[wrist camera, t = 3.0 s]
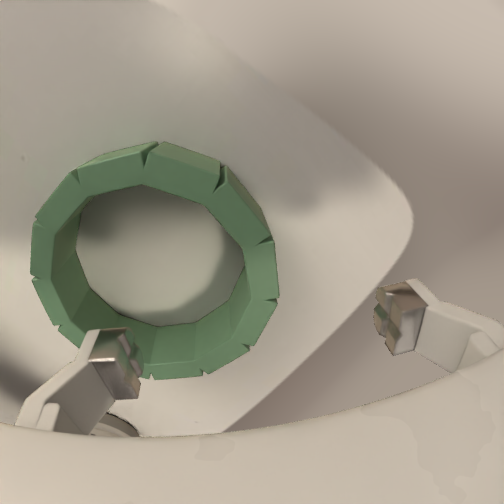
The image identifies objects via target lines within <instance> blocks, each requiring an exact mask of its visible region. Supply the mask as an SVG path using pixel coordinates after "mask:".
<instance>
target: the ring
mask: <svg viewBox="0 0 504 504" xmlns="http://www.w3.org/2000/svg"><path fill="white" fill-rule="evenodd" d="M139 185H146V186H149V187H152V188H155V189H158V190H161V191H164V192H167V193H170V194H173V195H176V196H179V197H181V198H184V199H187V200H190V201H193V202H196V203H199V204H202V205H204V206H205V207H206V208H207V209H208V210H209V212H210V213H211V214H212V215H213V216H214V217H215V218H216V220H217V221H218V222H219V223H220V224H221V225H222V226H223V228H224V229H225V230H226V231H227V232H228V233H229V234H230V235H231V237H232V238H233V239H234V240H235V241H236V242H237V243H238V245H239V246H240V247H241V248H242V250H243V256H244V263H245V266H244V268H243V270H242V273H241V275H240V277H239V279H238V281H237V283H236V286H235V288H234V290H233V292H232V294H231V296H230V299H229V301H227V302H226V303H224V304H223V305H221V306H220V307H218V308H217V309H215V310H214V311H212V312H211V313H209V314H208V315H206V316H205V317H203V318H202V319H200V320H199V321H197V322H195V323H188V324H180V325H171V326H163V327H156V326H153V325H150V324H146V323H143V322H140V321H137V320H134V319H131V318H128V317H125V316H122V315H119V314H118V313H117V312H115V311H114V310H113V309H112V308H111V307H110V306H109V305H108V304H107V303H105V302H104V301H103V300H102V299H101V298H100V297H99V296H98V295H97V294H96V293H95V292H93V291H92V290H91V289H90V287H89V285H88V283H87V280H86V278H85V275H84V272H83V270H82V267H81V265H80V262H79V259H78V257H77V254H76V251H75V248H76V241H77V235H78V229H79V223H80V217H81V212H82V210H83V209H84V208H85V206H86V205H87V204H88V203H89V202H90V201H91V200H92V199H93V198H94V197H95V196H96V195H100V194H104V193H108V192H112V191H116V190H121V189H125V188H130V187H134V186H139ZM35 217H36V218H37V220H36V221H35V222H34V223H33V229H32V242H31V262H30V274H31V275H33V276H35V277H34V278H33V279H32V283H33V285H34V287H35V289H36V291H37V294H38V296H39V298H40V300H41V302H42V304H43V306H44V308H45V310H46V312H47V314H48V316H49V318H50V320H51V322H52V324H53V325H54V326H55V325H60V326H59V328H58V331H59V332H60V333H61V334H62V335H64V336H65V337H66V338H67V339H68V340H70V341H71V342H72V343H73V344H74V345H76V346H77V347H78V348H79V349H80V347H81V344H82V342H83V340H84V338H85V335H86V333H87V331H89V330H94V329H107V328H121V327H129V328H131V329H132V331H133V333H134V335H135V338H134V343H135V344H137V345H138V346H139V347H140V349H141V351H142V355H143V359H144V369H143V374H142V375H141V376H140V377H142V378H145V379H149V378H150V374H152V376H153V378H154V380H163V379H176V378H187V377H197V376H203V371H204V372H206V373H207V374H210V373H212V372H214V371H216V370H217V369H219V368H221V367H223V366H224V365H226V364H228V363H230V362H231V361H233V360H235V359H237V358H238V357H240V356H242V355H243V354H245V353H247V352H248V351H250V348H249V345H250V346H254V345H255V343H256V342H257V340H258V338H259V336H260V335H261V333H262V331H263V329H264V328H265V326H266V324H267V322H268V321H269V319H270V317H271V315H272V314H273V312H274V310H275V308H276V306H277V304H278V303H277V299H276V298H279V296H280V295H279V284H278V273H277V263H276V253H275V243H274V240H273V237H272V235H271V232H270V230H269V227H268V225H267V222H266V220H265V217H264V215H263V212H262V210H261V208H260V206H259V205H258V204H257V203H256V202H255V200H254V199H253V198H252V197H251V195H250V194H249V193H248V192H247V190H246V189H245V188H244V187H243V185H242V184H241V183H240V182H239V180H238V179H237V178H236V177H235V176H234V174H233V173H232V172H231V171H230V169H229V168H228V167H227V166H224V167H223V168H221V169H220V161H219V160H216V159H213V158H210V157H208V156H205V155H202V154H199V153H196V152H194V151H191V150H188V149H185V148H182V147H179V146H176V145H173V144H170V143H167V142H163V143H161V144H160V145H158V143H157V142H151V143H146V144H142V145H138V146H133V147H129V148H125V149H121V150H117V151H113V152H110V153H106V154H103V155H101V156H99V157H97V158H95V159H93V160H91V161H89V162H87V163H85V164H83V165H81V166H79V167H78V168H77V169H75V170H73V171H71V172H70V173H69V174H68V175H67V176H66V177H65V179H64V180H63V181H62V182H61V183H60V185H59V186H58V187H57V188H56V190H55V191H54V192H53V193H52V195H51V196H50V197H49V198H48V200H47V201H46V202H45V204H44V205H43V206H42V208H41V209H40V210H39V212H38V213H37V214H36V216H35Z"/></svg>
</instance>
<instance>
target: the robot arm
mask: <svg viewBox="0 0 504 504" xmlns="http://www.w3.org/2000/svg"><path fill="white" fill-rule="evenodd" d="M375 298H376V300H377V301H378V302H379V303H378V304H377V306H376V307H375V308H374V315H373V318H374V325H375V327H376V330H377V332H378V333H379V335H381V336H383V337H385V338H386V340H385V344H386V346H387V347H388V349H389V351H390V352H391V354H392V355H393V356H396V355H399V354H403V353H406V352H410V351H413V350H415V352H417V353H418V354H420V355H421V356H423V357H425V358H426V359H428V360H430V361H431V362H433V363H435V364H436V365H438V366H440V367H441V368H443V369H445V370H446V371H448V372H450V373H451V374H449V375H446V376H444V377H442V378H439V379H437V380H434V381H432V382H429V383H427V384H424V385H422V386H419V387H416V388H414V389H411V390H408V391H405V392H403V393H400V394H397V395H394V396H391V397H388V398H385V399H382V400H378V401H375V402H372V403H369V404H365V405H362V406H358V407H355V408H351V409H348V410H344V411H340V412H336V413H332V414H328V415H324V416H320V417H315V418H311V419H307V420H301V421H297V422H292V423H286V424H281V425H275V426H269V427H263V428H256V429H249V430H242V431H235V432H225V433H215V434H204V435H190V436H171V437H114V436H95V435H89V433H90V432H91V431H92V430H93V428H94V427H95V426H96V425H97V423H98V422H99V421H100V420H101V418H102V417H103V416H104V415H105V413H106V412H107V411H108V410H109V408H110V407H111V406H112V405H113V403H114V402H115V400H123V399H138V396H139V391H140V386H141V383H140V381H139V379H138V378H139V377H140V376H141V375H142V374H143V369H144V359H143V355H142V351H141V349H140V347H139V346H138V345H137V344H135V343H134V338H135V335H134V333H133V331H132V329H131V328H129V327H121V328H107V329H94V330H89V331H87V333H86V335H85V338H84V340H83V342H82V344H81V347H80V349H79V351H78V354H77V356H76V358H75V361H74V362H70V363H69V364H67V365H66V366H65V367H64V368H62V369H61V370H60V371H59V372H57V373H56V374H55V375H54V376H53V377H51V378H50V379H49V380H48V381H47V382H45V383H44V384H43V385H42V386H40V387H39V388H38V389H37V390H36V391H34V392H33V393H32V394H31V395H30V396H28V397H27V398H26V399H25V400H24V403H23V405H22V407H21V410H20V412H19V415H18V417H17V419H16V422H15V424H14V425H11V424H6V423H2V422H0V504H504V326H503V325H502V324H501V323H500V322H499V321H497V320H494V319H491V318H488V317H486V316H483V315H481V314H478V313H475V312H472V311H470V310H467V309H464V308H461V307H459V306H456V305H453V304H450V303H448V302H440V300H439V299H438V298H437V297H436V296H435V295H434V294H433V293H432V292H431V291H430V290H429V289H428V288H427V287H426V286H425V285H424V284H423V283H422V282H421V281H420V280H419V279H416V278H414V279H410V280H407V281H403V282H401V283H396V284H392V285H388V286H383V287H379V288H378V289H377V291H376V297H375Z"/></svg>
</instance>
